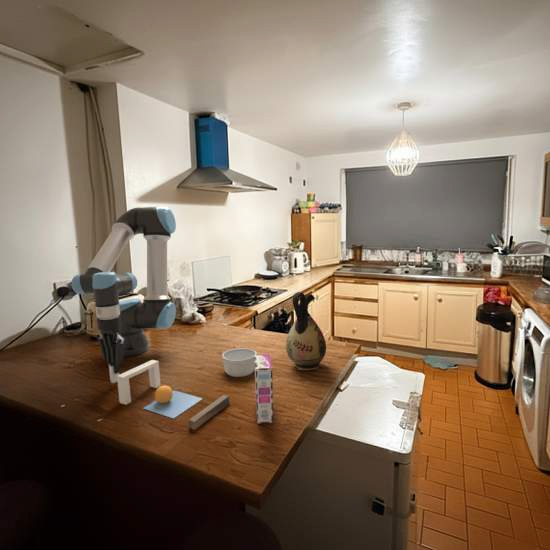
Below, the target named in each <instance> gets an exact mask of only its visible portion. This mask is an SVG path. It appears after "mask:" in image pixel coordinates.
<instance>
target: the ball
mask: <svg viewBox="0 0 550 550" xmlns="http://www.w3.org/2000/svg"><path fill="white" fill-rule="evenodd" d="M172 396H173V389H172V388H171V387H170V386H169V385H161V386H159V387H158V388H156V390H155V392H154V398H155V401H156V400H157V402H159V403H162V404H164V403H167V402H169V401H170V400H171V399H172Z"/></svg>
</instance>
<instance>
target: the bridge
mask: <svg viewBox="0 0 550 550" xmlns="http://www.w3.org/2000/svg"><path fill="white" fill-rule="evenodd" d="M159 362H160V361H159V360H155V359H150V360H148V361H146V362H145V363H142V364H140V365H138V366H136V367H133V368H130V369H129V370H127V371H124V372H122V373H119V375H118V376H117V382H116V383H117V391H118V400H119V404H122V405H124V406H125V405H126V406H127V405H128V404H130V403H132V397H131V386H130V379H131V378H133V377H135V376H138V375H139V374H141V373H145V372H146V371H148V378H149V387H150V388H154V389H158V388H159V387H161V386H162V384H161V375H160V364H159Z"/></svg>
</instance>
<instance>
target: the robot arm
mask: <svg viewBox="0 0 550 550" xmlns="http://www.w3.org/2000/svg"><path fill="white" fill-rule="evenodd" d="M176 222H177V221H176V219H175V215H174V214H173V211H172V210H171V209H170V208H169V207H168V206H149V207H148V206H144V207H133V208H131V209H128V210H127V211H125V212H124V213H122V214H121V215H120V216H119V217H118V218H117V219H116V220H115V222H114V223H113V224H112V226H111V232H110V233H109V235H108V237H107V238H106V240H104V243H103V244H102V245H101V247H100V249H99V251H98V252H97V254H96V255H94V258H93V259H92V261H91V262H90V263H89V265H88V267H87V269H86V270H85V272H84V273H79V274H76V275H74V276H73V277H72V280H71V289H72V290H73V292H74V293H75V294H79V295H93V296H94V307H95V316H96V318H97V319H96V324H97V325H96V327H97V329H98V331H100V333H99V334H96V335H95V336H96V339H97V341H98V346H99V348H100V352H101V357H102V360H103V362H104V363H105V362H106V363H107V365H108V372H109V380H110V383H112V384H115V383H118V382H117V376H118V375H120V371H121V370H120V364H122V363H123V362H124V357H130V356H136V355H140V354H143V353H145V352H147V351H148V350H149V349H150V344H149V341H148V338H147V336H146V334H145V333H144V332H145V331H144V330H145V329H146V330H167V329H169V328H170V327H172V325H173V324H174V322H175V320H176V319H175V318H176V315H177V314H176V313H177V308H176V307H177V306H176V305H175V303H174V302H172V301H171V299H172V298H171V297H170V296H169V295H168V241H169V240H171V238H172V237H171V236H172V235H171V234H174V233H175V231H176V229H177V223H176ZM139 234H140V235H143V238H144V239H145V240H146V296H145V297H143V298H142V299H143V300H141V298H131V299H127V300H122V301H119V300H120V298H119V297H120V296H123V295H126V294H129V293H131V292H133V291H135V289H136V288H137V286H138V279H137V277H136V275H134V274H133V273H132V272H121V273H116V271H112V270H113V268H114V266H115V264H116V262H117V261H118V259H119V257H120V256H121V254H122V252H123V250H124V249H125V247H126V246H127V244H128V242H129V241H131V240H133V239H134V237H135V236H137V235H139ZM142 301H143V302H142Z"/></svg>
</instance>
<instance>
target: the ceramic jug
mask: <svg viewBox="0 0 550 550" xmlns="http://www.w3.org/2000/svg"><path fill="white" fill-rule="evenodd" d="M314 300H315V295H313V294H312V293H308V294H304V293H303V292H300V291H298V292H295V293H294V294H293V295H292V305H293V310H294V312H295V317H296V318H295V319H296V320H295V321H294V322H293V324H292V326H291V328H290V330H289V331H288V334H287V337H286V342H285V343H286V345H285V349H286V353H287V356H288V357H289V359H290V360H291V362H292V363H294V366H295V367H296V369H297V370H299V371H314V370H317V369H319V368H320V367H321V365H320V363H321V362H322V360H324V358H325V356H326V352H327V343H326V338H325V336H324V334H323V331H322V329H321V328H320V326H319V325H318V323H317V322H316V321H315V320H314V318H313V317H312V316H311V314H310V313H309V310H308V309H309V305H310V304H311V303H312V302H313V301H314Z"/></svg>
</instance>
